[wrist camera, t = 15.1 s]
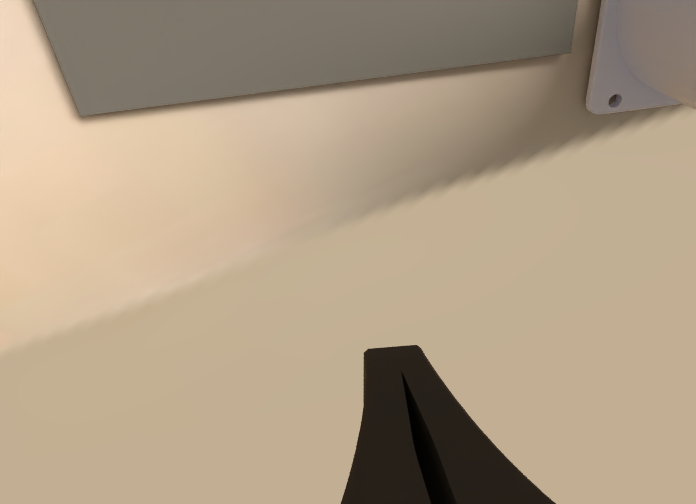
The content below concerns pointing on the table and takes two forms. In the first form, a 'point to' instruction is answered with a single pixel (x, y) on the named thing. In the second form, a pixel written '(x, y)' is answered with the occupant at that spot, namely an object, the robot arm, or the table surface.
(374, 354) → the robot arm
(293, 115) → the table surface
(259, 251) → the table surface
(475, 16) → the mat
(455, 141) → the table surface
